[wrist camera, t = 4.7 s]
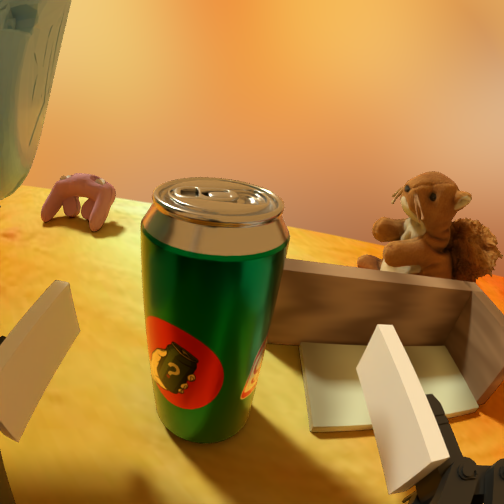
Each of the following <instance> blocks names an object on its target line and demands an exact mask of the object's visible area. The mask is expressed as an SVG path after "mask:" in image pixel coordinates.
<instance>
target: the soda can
mask: <svg viewBox="0 0 504 504" xmlns="http://www.w3.org/2000/svg"><path fill="white" fill-rule="evenodd" d="M152 199H153V204H152V205H151V207H150V208H149V210H148V211H147V213H146V214H145V216H144V217H143V219H142V221H141V262H142V283H143V299H144V312H145V324H146V334H147V344H148V353H149V361H150V369H151V376H152V383H153V390H154V396H155V403H156V409H157V412H158V416H159V418H160V420H161V421H162V423H163V424H164V425H165V427H166V428H167V429H168V430H170V431H171V432H172V433H173V434H175V435H176V436H178V437H180V438H182V439H185V440H188V441H191V442H196V443H216V442H220V441H223V440H226V439H228V438H230V437H232V436H233V435H235V434H236V433H238V432H239V431H240V430H241V429H242V427H243V426H244V425H245V423H246V421H247V419H248V416H249V412H250V408H251V404H252V400H253V396H254V392H255V389H256V385H257V381H258V376H259V372H260V368H261V364H262V360H263V356H264V352H265V348H266V344H267V339H268V335H269V331H270V327H271V322H272V318H273V314H274V309H275V305H276V300H277V296H278V291H279V287H280V282H281V278H282V273H283V269H284V264H285V259H286V255H287V250H288V245H289V240H290V235H289V231H288V229H287V226H286V224H285V222H284V219H283V216H282V214H283V211H284V202H283V200H282V199H281V198H280V197H279V196H278V195H276V194H274V193H273V192H271V191H269V190H267V189H264V188H262V187H259V186H256V185H253V184H250V183H246V182H241V181H236V180H230V179H222V178H208V177H198V178H197V177H195V178H183V179H177V180H172V181H168V182H165V183H162V184H161V185H159V186H157V187H156V188H155V189H154V191H153V194H152Z"/></svg>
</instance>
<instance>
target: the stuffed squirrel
mask: <svg viewBox="0 0 504 504" xmlns="http://www.w3.org/2000/svg"><path fill="white" fill-rule="evenodd" d="M400 190H401V191H400ZM399 191H400V192H399ZM398 192H399V193H398ZM397 193H398V195H397V196H396V194H397ZM401 194H402V195H401ZM400 195H401V197H400V200H401V205H402V208H403V210H404V212H405V213H406V214H407V215H408V216H409V218H407V219H398V220H397V219H390V218H386V217H382V218H380V219H378V220H377V221H376V222H375V223H374V224H373V228H372V233H373V235H374V237H375V239H377V240H378V241H380V242H390V243H388V244H387V245H386V246H385V247H384V250H383V259H382V260H381V259H379V258H377V257H375V256H372V255H363V256H361V257H359V258H358V260H357V264H358V268H365V269H373V270H381V271H389V272H396V273H404V274H412V275H420V276H428V277H436V278H444V279H452V280H460V281H468V282H475V283H476V279H478V277H482V276H485V275H486V274H490V276H491V277H492V270H494V268H493V267H494V266H496V264H495V262H496V260H497V259H498V257H500V258H502V256H503V255H501V254H500V251H499V250H498V248H496V245H497V244H498V243H497V240H496V237H495V235H493V234H492V233H491V232H490V231H489V228H487V227H485V226H483V225H482V224H481V223H480V222H479V221H478V220H474V221H473V220H472V221H471V219H467V218H465V219H461V218H460V219H458V220H455V221H454V222H452V221H451V220H452V219H453V217H454V216H455V214H456V213H457V211H459V210H461V209H463V208H464V207H465V206H466V205H468V204H469V203H470V201H471V199H472V197H471V194H470V193H468V192H463V191H460V190H459V189H458V187H457V185H456V184H455V183H454V182H453V181H452V180H451V179H450V178H448V177H447V176H445V175H443V174H442V173H439V172H435V171H434V172H433V171H432V172H426V173H423V174H420V175H418V176H416V177H414V178H413V179H410V180H409V181H407V183H406V184H405V185H404V187H402V188H400V189H399V190H397V191H396V193H394V194H393V195H392V197H395V196H396V197H395V199H394V200H393V201H392V202H391V203H392V204H394V202H395V200H396V199H397V198H398V197H399V196H400Z"/></svg>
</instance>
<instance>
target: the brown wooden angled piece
mask: <svg viewBox="0 0 504 504" xmlns="http://www.w3.org/2000/svg"><path fill="white" fill-rule="evenodd" d="M377 324H383V325H393V327H394V329H395V331H396V333H397V335H398V337H399V339H400V341H401V343H402V345H403V347H404V349H405V351H406V353H407V355H408V357H409V360H410V362H411V364H412V366H413V368H414V370H415V373H416V375H417V377H418V379H419V381H420V384H421V386H422V388H423V391H424V393H425V394H433V395H434V396H435V397H436V398H437V400H438V401H439V402H440V403H441V405H442V407H443V410H444V412H445V416H446V417H447V418H451V417H456V416H461V415H465V414H469V413H473V412H475V411H476V410H477V409H478V408H479V406H478V405H482V404H484V403H485V402H486V401H487V400H488V399H489V397H490V396H491V395H492V394H493V393H494V391H495V390H496V389H497V388H498V386H499V385H500V384H501V382H502V381H503V380H504V315H503V314H502V312H501V311H500V310H499V309H498V308H497V307H496V305H495V304H494V303H493V302H492V301H491V300H490V299H489V298H488V296H487V295H486V294H485V293H484V292H483V291H482V290H481V289H480V288H479V287H478V286H477V284H476V283H475V282H468V281H460V280H452V279H444V278H436V277H428V276H420V275H412V274H404V273H396V272H389V271H381V270H373V269H365V268H357V267H349V266H342V265H334V264H326V263H318V262H310V261H303V260H295V259H287V258H286V259H285V264H284V269H283V273H282V278H281V282H280V287H279V291H278V296H277V300H276V305H275V309H274V314H273V318H272V322H271V327H270V331H269V335H268V339H267V343H274V344H285V345H298V346H299V352H300V359H301V366H302V373H303V380H304V387H305V395H306V402H307V410H308V418H309V426H310V432H331V431H353V430H367V429H373V427H372V423H371V419H370V416H369V412H368V408H367V405H366V401H365V397H364V394H363V390H362V387H361V384H360V380H359V377H358V373H357V370H356V367H357V366H358V364H359V362H360V360H361V358H362V356H363V354H364V352H365V350H366V348H367V346H368V343H369V341H370V339H371V337H372V335H373V333H374V331H375V329H376V326H377Z"/></svg>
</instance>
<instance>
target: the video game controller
mask: <svg viewBox="0 0 504 504" xmlns="http://www.w3.org/2000/svg"><path fill="white" fill-rule="evenodd" d="M115 194H116V192H115V189H114V187H113V186H112V185H111V184H109V183H108V182H106V181H105V180H103V179H102V178H100V177H97V176H95V175H90V174H82V173H79V174H78V173H76V174H74V175H71V176H61V178H60V180H59V181H57V182H56V183H55V185H54V187H53V189H52V191H51V192H50V194H49V196H48V198H47V199H46V201H45V203H44V205H43V207H42V211H41V218H42V220H43V221H44V222H48V221H49V220H51V219H52V218H53V217H54V216H55V215H56V213H57V212H58V211H59V209H60V208H61V206H62V205H63V209H64V213H65V215H67V216H71V217H75V216H77V215H78V214H79V212H80V208H81V206H80V202H79V197H87V198H89V199H88V200H87V201H86V202H85V203H84V204H83V206H82V209H81V214H82V216H83V218H85V219H87V220H89V227H90V229H91V231H93V232H95V231H97V230H99V229H100V228H101V226H102V225H103V224H104V222H105V220H106V218H107V216H108V213H109V210H110V207H111V205H112V204H113V202H114V200H115V196H116V195H115Z"/></svg>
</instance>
